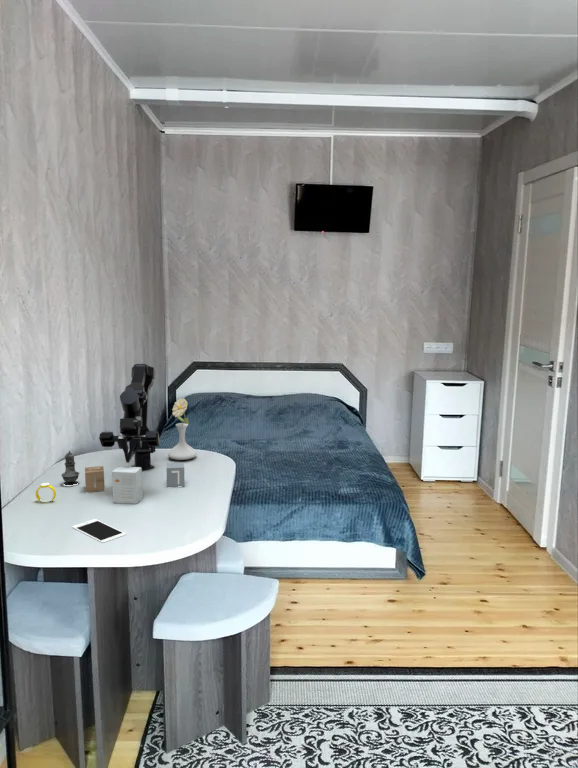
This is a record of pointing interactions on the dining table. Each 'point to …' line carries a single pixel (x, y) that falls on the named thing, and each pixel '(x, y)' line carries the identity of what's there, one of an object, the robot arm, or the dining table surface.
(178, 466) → the slate block
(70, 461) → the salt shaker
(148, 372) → the robot arm
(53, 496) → the watch
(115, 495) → the small box
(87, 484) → the brown cardboard box
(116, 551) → the dining table surface
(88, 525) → the cell phone
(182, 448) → the flower in vase
